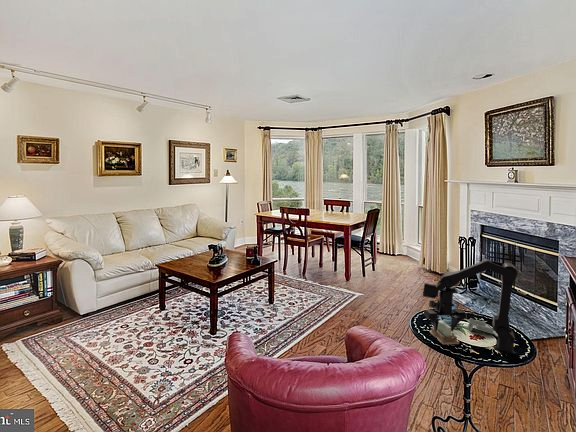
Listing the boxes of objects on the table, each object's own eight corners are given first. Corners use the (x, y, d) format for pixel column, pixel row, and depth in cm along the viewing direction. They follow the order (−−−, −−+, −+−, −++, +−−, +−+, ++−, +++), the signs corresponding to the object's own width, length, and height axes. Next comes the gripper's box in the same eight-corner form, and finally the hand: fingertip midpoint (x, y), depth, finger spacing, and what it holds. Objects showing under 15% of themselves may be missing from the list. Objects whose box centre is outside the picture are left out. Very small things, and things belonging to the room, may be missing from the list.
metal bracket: (478, 326, 167) (463, 313, 182) (473, 337, 168) (459, 323, 183) (506, 335, 167) (489, 321, 182) (501, 346, 168) (485, 331, 183)
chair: (458, 324, 181) (460, 302, 180) (441, 322, 183) (443, 301, 182) (454, 318, 189) (456, 297, 187) (438, 316, 191) (440, 296, 189)
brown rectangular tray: (459, 343, 161) (459, 335, 160) (442, 344, 160) (443, 335, 160) (445, 331, 173) (445, 323, 172) (429, 332, 172) (430, 324, 171)
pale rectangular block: (450, 339, 162) (451, 327, 162) (445, 340, 162) (446, 328, 161) (441, 331, 171) (442, 320, 170) (436, 332, 170) (437, 320, 170)
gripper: (454, 293, 173) (452, 323, 175) (419, 294, 171) (417, 324, 173) (468, 302, 162) (465, 333, 164) (430, 303, 160) (428, 334, 162)
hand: (443, 331), depth 166 cm, fingers open, 8 cm apart
